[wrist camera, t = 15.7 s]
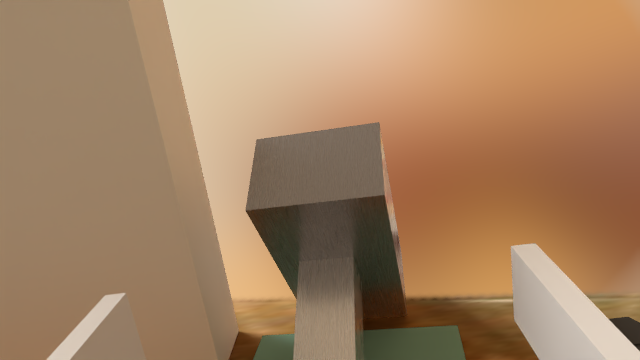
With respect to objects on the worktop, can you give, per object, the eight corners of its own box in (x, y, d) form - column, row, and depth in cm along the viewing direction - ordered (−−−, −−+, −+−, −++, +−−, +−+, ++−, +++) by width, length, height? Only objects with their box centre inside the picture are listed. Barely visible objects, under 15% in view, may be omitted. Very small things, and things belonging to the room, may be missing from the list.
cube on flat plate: (256, 139, 27) (379, 122, 26) (312, 261, 37) (401, 253, 36) (219, 379, 18) (398, 372, 17) (304, 450, 29) (420, 449, 28)
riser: (58, 350, 36) (-98, -89, 27) (238, 330, 35) (131, -134, 26) (15, 398, 31) (-191, -116, 23) (222, 377, 30) (85, -173, 21)
